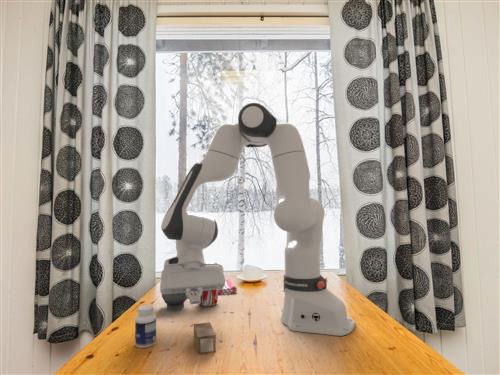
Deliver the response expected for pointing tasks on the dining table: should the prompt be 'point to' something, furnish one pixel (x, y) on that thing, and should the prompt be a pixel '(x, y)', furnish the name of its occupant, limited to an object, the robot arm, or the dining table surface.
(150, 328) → the pill bottle
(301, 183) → the robot arm
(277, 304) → the dining table surface
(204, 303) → the soda can
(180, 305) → the mortar and pestle
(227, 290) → the dish towel
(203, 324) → the brown tall block
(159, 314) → the dining table surface
